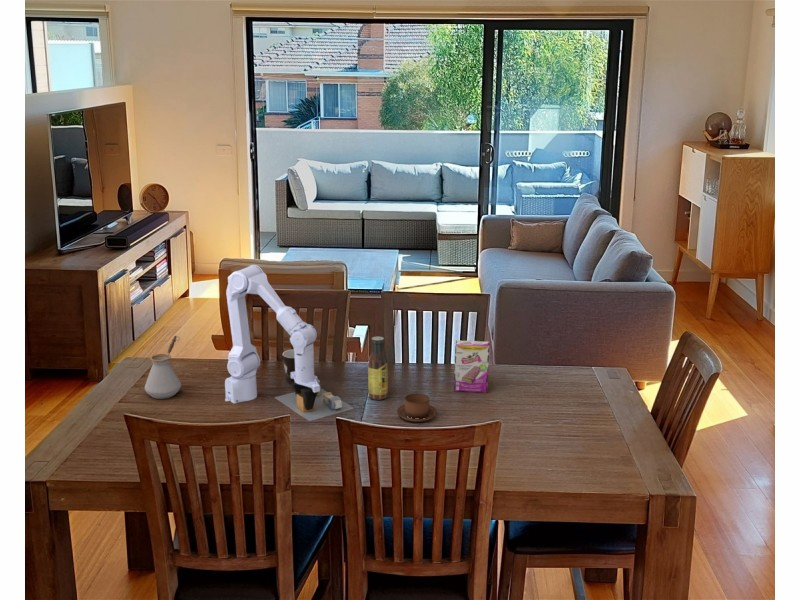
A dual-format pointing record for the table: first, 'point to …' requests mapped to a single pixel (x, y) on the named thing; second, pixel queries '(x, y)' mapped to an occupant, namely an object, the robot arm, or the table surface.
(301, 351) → the robot arm
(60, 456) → the table surface
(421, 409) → the cup and saucer
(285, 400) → the base board
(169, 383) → the coffee pot
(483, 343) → the candy bar box
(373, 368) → the sauce bottle
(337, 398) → the shaft rig
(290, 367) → the coffee mug
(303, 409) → the brown square block
